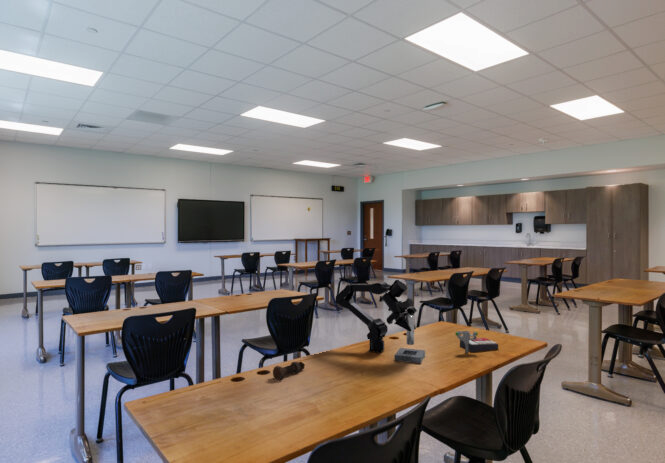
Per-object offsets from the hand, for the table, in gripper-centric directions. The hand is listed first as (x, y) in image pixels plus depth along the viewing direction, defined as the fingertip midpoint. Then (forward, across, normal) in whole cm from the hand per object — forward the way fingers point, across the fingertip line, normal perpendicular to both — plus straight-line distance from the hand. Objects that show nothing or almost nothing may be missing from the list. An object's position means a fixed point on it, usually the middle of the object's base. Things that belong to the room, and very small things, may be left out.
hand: (412, 330), depth 183 cm
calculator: (+21, +37, -1) cm, 42 cm away
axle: (+4, 0, +6) cm, 7 cm away
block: (+8, 0, +11) cm, 13 cm away
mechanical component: (+20, +26, -1) cm, 32 cm away
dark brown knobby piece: (-10, -50, +30) cm, 59 cm away
